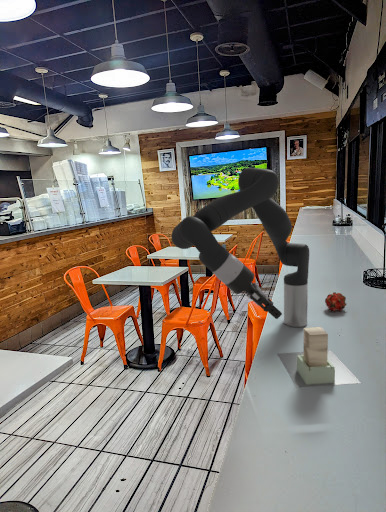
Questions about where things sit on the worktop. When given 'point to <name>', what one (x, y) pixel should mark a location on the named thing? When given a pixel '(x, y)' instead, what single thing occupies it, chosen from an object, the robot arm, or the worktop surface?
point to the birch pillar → (315, 347)
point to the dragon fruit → (335, 301)
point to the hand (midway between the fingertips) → (275, 310)
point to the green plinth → (315, 372)
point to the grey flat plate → (340, 378)
